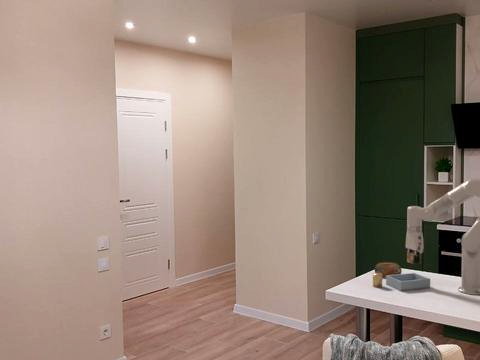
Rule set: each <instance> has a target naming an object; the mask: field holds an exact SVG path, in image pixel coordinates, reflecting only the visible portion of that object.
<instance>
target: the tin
mask: <svg viewBox="0 0 480 360" xmlns="http://www.w3.org/2000/svg"><path fill="white" fill-rule="evenodd" d="M374 273H382V278H386V275H397V274H402V267H401V266H400V264H398V263H396V262H378V263H377V264H376V265H375V267H374Z"/></svg>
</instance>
